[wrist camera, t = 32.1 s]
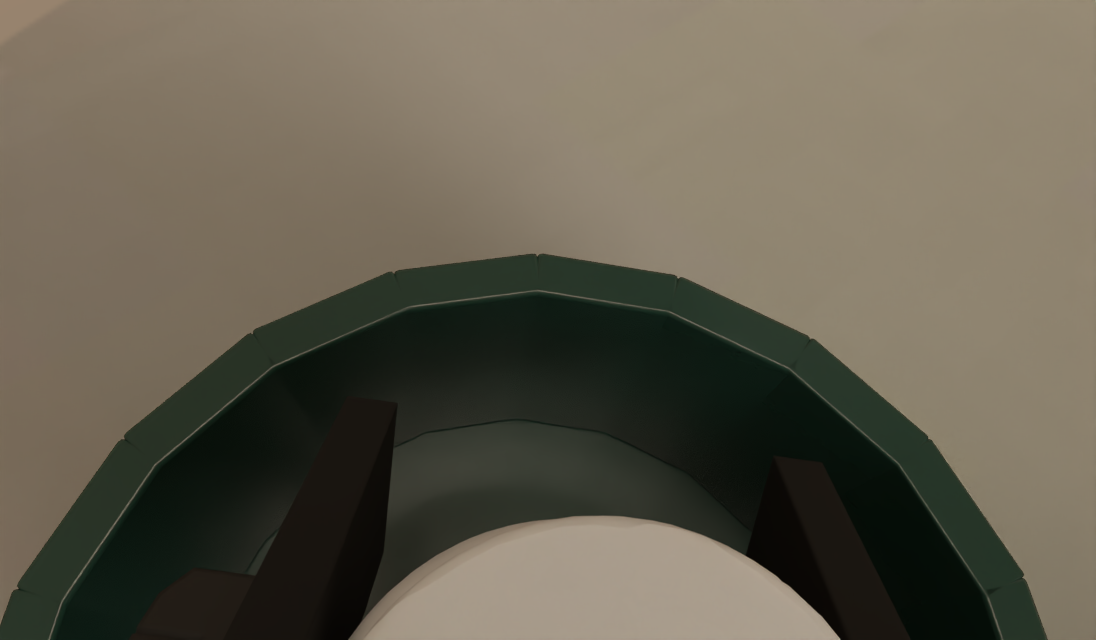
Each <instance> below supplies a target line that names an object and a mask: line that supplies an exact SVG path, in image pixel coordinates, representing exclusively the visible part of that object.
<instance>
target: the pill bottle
mask: <svg viewBox="0 0 1096 640" xmlns="http://www.w3.org/2000/svg"><path fill="white" fill-rule="evenodd" d="M348 640H841V639H840V638H839V637H838V636H837V634H836V633H835V632H834V631H833V630H832V628H831V627H830V626H829V625H828V623H827V622H826V621H825V620H824V619H823V617H822V616H821V615H819V614H818V613H817V612H816V611H815V610H814V609H813V608H812V607H811V606H810V605H809V604H808V603H807V602H806V601H805V600H803V599H802V598H801V597H800V596H799V595H798V594H797V593H796V592H795V591H794V590H793V589H792V588H791V587H790V586H789V585H787V584H785V583H783V582H782V581H781V580H780V579H779V578H778V577H777V576H776V575H774V574H773V573H771V572H770V571H768V570H767V569H765V568H764V567H762V566H761V565H759V564H758V563H756V562H755V561H753V560H752V559H750V558H748V557H746V556H745V555H743V554H741V553H739V552H737V551H736V550H734V549H732V548H730V547H729V546H727V545H724V544H722V543H720V542H717V541H715V540H713V539H710V538H708V537H706V536H703V535H701V534H698V533H695V532H692V531H689V530H686V529H683V528H680V527H677V526H674V525H671V524H666V523H662V522H657V521H652V520H645V519H638V518H630V517H623V516H572V517H566V518H560V519H550V520H539V521H530V522H525V523H519V524H514V525H509V526H506V527H502V528H499V529H495V530H491V531H488V532H485V533H482V534H480V535H477V536H474V537H472V538H469V539H467V540H465V541H463V542H461V543H459V544H457V545H455V546H453V547H451V548H449V549H447V550H445V551H444V552H442V553H440V554H438V555H436V556H435V557H433V558H432V559H430V560H429V561H427V562H426V563H424V564H423V565H421V566H420V567H419V568H417V569H416V570H414V571H413V572H412V573H410V574H409V575H408V576H407V577H406V578H404V579H403V580H402V581H401V582H400V583H399V584H397V585H396V586H395V587H394V588H393V589H391V590H390V591H389V592H388V593H387V594H386V595H385V596H384V597H383V598H382V599H381V600H380V601H379V602H378V603H377V604H376V606H375V607H374V608H373V609H372V610H371V611H370V612H369V614H368V615H367V616H366V617H365V618H364V619H363V621H362V622H361V623H360V625H359V626H358V627H357V629H356V630H355V631H354V633H353V634H352V635H351V637H350V638H349V639H348Z"/></svg>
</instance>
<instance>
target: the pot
mask: <svg viewBox="0 0 1096 640" xmlns="http://www.w3.org/2000/svg"><path fill="white" fill-rule="evenodd" d="M347 396H353V397H360V398H367V399H374V400H381V401H388V402H396V403H398V404H397V415H396V426H395V437H394V447H393V458H392V469H391V480H390V490H389V501H388V512H387V523H386V534H385V544H384V553H383V556H382V559H381V562H380V565H379V569H378V572H377V575H376V578H375V581H374V585H373V588H372V591H371V594H370V597H369V601H368V604H367V607H366V610H365V613H364V616H363V619H364V618H365V617H366V616H367V615H368V614H369V612H370V611H371V610H372V609H373V608H374V607H375V606H376V604H377V603H378V602H379V601H380V600H381V599H382V598H383V597H384V596H385V595H386V594H387V593H388V592H389V591H390V590H391V589H393V588H394V587H395V586H396V585H397V584H399V583H400V582H401V581H402V580H403V579H404V578H406V577H407V576H408V575H409V574H410V573H412V572H413V571H414V570H416V569H417V568H419V567H420V566H421V565H423V564H424V563H426V562H427V561H429V560H430V559H432V558H433V557H435V556H436V555H438V554H440V553H442V552H444V551H445V550H447V549H449V548H451V547H453V546H455V545H457V544H459V543H461V542H463V541H465V540H467V539H469V538H472V537H474V536H477V535H480V534H482V533H485V532H488V531H491V530H495V529H499V528H502V527H506V526H509V525H514V524H519V523H525V522H530V521H539V520H550V519H560V518H566V517H572V516H623V517H630V518H638V519H645V520H652V521H657V522H662V523H666V524H671V525H674V526H677V527H680V528H683V529H686V530H689V531H692V532H695V533H698V534H701V535H703V536H706V537H708V538H710V539H713V540H715V541H717V542H720V543H722V544H724V545H727V546H729V547H730V548H732V549H734V550H736V551H737V552H739V553H741V554H743V555H745V556H746V552H747V549H748V545H749V542H750V538H751V534H752V531H753V527H754V524H755V520H756V516H757V513H758V509H759V506H760V502H761V498H762V495H763V491H764V488H765V484H766V480H767V477H768V473H769V470H770V466H771V462H772V459H773V456H780V457H787V458H794V459H801V460H808V461H815V462H822V463H823V465H824V467H825V469H826V471H827V473H828V475H829V477H830V479H831V481H832V483H833V485H834V487H835V489H836V491H837V493H838V495H839V497H840V499H841V501H842V503H843V505H844V507H845V509H846V511H847V513H848V515H849V517H850V519H851V521H852V523H853V525H854V527H855V529H856V531H857V533H858V535H859V537H860V539H861V541H862V543H863V545H864V547H865V549H866V551H867V553H868V555H869V557H870V559H871V561H872V563H873V565H874V567H875V569H876V571H877V573H878V575H879V577H880V579H881V581H882V583H883V585H884V587H885V589H886V591H887V593H888V595H889V597H890V599H891V601H892V603H893V605H894V607H895V609H896V611H897V613H898V615H899V617H900V619H901V621H902V623H903V625H904V627H905V629H906V631H907V633H908V635H909V637H910V639H911V640H1048V639H1047V637H1046V634H1045V631H1044V628H1043V626H1042V623H1041V620H1040V617H1039V615H1038V612H1037V609H1036V606H1035V604H1034V601H1033V598H1032V595H1031V593H1030V590H1029V587H1028V584H1027V582H1026V580H1025V579H1024V578H1022V577H1023V576H1024V574H1023V572H1022V570H1021V569H1020V567H1019V566H1018V565H1017V563H1016V562H1015V560H1014V559H1013V557H1012V556H1011V554H1010V553H1009V552H1008V550H1007V549H1006V547H1005V546H1004V544H1003V543H1002V541H1001V540H1000V538H999V537H998V536H997V534H996V533H995V531H994V530H993V528H992V527H991V525H990V524H989V523H988V521H987V520H986V518H985V517H984V515H983V514H982V512H981V511H980V509H979V508H978V507H977V505H976V504H975V502H974V501H973V499H972V498H971V496H970V495H969V494H968V492H967V491H966V489H965V488H964V486H963V485H962V483H961V482H960V480H959V479H958V478H957V476H956V475H955V473H954V472H953V470H952V469H951V467H950V466H949V464H948V463H947V462H946V460H945V459H944V457H943V456H942V454H941V453H940V451H939V450H938V449H937V447H936V446H935V444H934V443H933V441H932V440H931V439H928V436H927V435H926V434H925V433H924V432H923V431H921V430H920V429H919V428H918V427H917V426H916V425H914V424H913V423H912V422H911V421H910V420H908V419H907V418H906V417H905V416H904V415H903V414H901V413H900V412H899V411H898V410H897V409H896V408H894V407H893V406H892V405H891V404H890V403H889V402H887V401H886V400H885V399H884V398H883V397H882V396H880V395H879V394H878V393H877V392H876V391H875V390H873V389H872V388H871V387H870V386H869V385H868V384H866V383H865V382H864V381H863V380H862V379H860V378H859V377H858V376H857V375H856V374H855V373H853V372H852V371H851V370H850V369H849V368H848V367H846V366H845V365H844V364H843V363H842V362H841V361H839V360H838V359H837V358H836V357H835V356H834V355H832V354H831V353H830V352H829V351H828V350H827V349H825V348H824V347H823V346H822V345H821V344H820V343H818V342H817V341H816V340H815V339H810V337H808V336H807V335H805V334H803V333H801V332H799V331H796V330H794V329H792V328H790V327H788V326H786V325H784V324H781V323H779V322H777V321H775V320H773V319H771V318H769V317H767V316H764V315H762V314H760V313H758V312H756V311H754V310H752V309H749V308H747V307H745V306H743V305H741V304H739V303H737V302H734V301H732V300H730V299H728V298H726V297H724V296H722V295H720V294H717V293H715V292H713V291H711V290H709V289H707V288H705V287H702V286H700V285H698V284H696V283H694V282H692V281H690V280H687V279H685V278H683V277H680V278H679V279H678V278H677V276H675V275H671V274H665V273H659V272H653V271H646V270H640V269H634V268H628V267H622V266H615V265H609V264H603V263H597V262H591V261H585V260H578V259H572V258H566V257H560V256H554V255H547V254H539V255H538V257H537V256H536V254H526V255H518V256H510V257H502V258H494V259H486V260H477V261H469V262H461V263H453V264H445V265H437V266H429V267H420V268H412V269H404V270H398V271H396V272H395V274H394V273H393V272H388V273H386V274H383V275H381V276H379V277H376V278H374V279H372V280H369V281H367V282H365V283H362V284H360V285H357V286H355V287H353V288H350V289H348V290H346V291H343V292H341V293H339V294H336V295H334V296H332V297H329V298H327V299H325V300H322V301H320V302H318V303H315V304H313V305H311V306H308V307H306V308H304V309H301V310H299V311H297V312H294V313H292V314H290V315H287V316H285V317H283V318H280V319H278V320H276V321H273V322H271V323H269V324H266V325H264V326H261V327H259V328H257V329H255V330H254V331H253V334H251V333H250V334H247V335H246V336H245V337H244V338H242V339H241V340H240V341H239V342H238V343H236V344H235V345H234V346H233V347H231V348H230V349H229V350H228V351H226V352H225V353H224V354H223V355H221V356H220V357H219V358H218V359H217V360H215V361H214V362H213V363H212V364H210V365H209V366H208V367H207V368H205V369H204V370H203V371H202V372H201V373H199V374H198V375H197V376H196V377H194V378H193V379H192V380H191V381H189V382H188V383H187V384H186V385H184V386H183V387H182V388H181V389H180V390H178V391H177V392H176V393H175V394H173V395H172V396H171V397H170V398H168V399H167V400H166V401H165V402H163V403H162V404H161V405H160V406H159V407H157V408H156V409H155V410H154V411H152V412H151V413H150V414H149V415H147V416H146V417H145V418H144V419H143V420H141V421H140V422H139V423H138V424H136V425H135V426H134V427H133V428H131V429H130V430H129V431H128V432H126V434H125V435H124V438H125V439H121V440H120V441H119V442H118V443H117V444H116V445H115V447H114V448H113V450H112V451H111V452H110V454H109V455H108V457H107V458H106V459H105V461H104V462H103V464H102V465H101V467H100V468H99V469H98V471H97V472H96V474H95V475H94V476H93V478H92V479H91V481H90V482H89V483H88V485H87V486H86V488H85V489H84V490H83V492H82V493H81V495H80V496H79V498H78V499H77V500H76V502H75V503H74V505H73V506H72V507H71V509H70V510H69V512H68V513H67V514H66V516H65V517H64V519H63V520H62V521H61V523H60V524H59V526H58V527H57V529H56V530H55V531H54V533H53V534H52V536H51V537H50V538H49V540H48V541H47V543H46V544H45V545H44V547H43V548H42V550H41V551H40V553H39V554H38V555H37V557H36V558H35V560H34V561H33V562H32V564H31V565H30V567H29V568H28V569H27V571H26V572H25V574H24V575H23V576H22V578H21V579H20V581H19V582H18V585H17V587H18V588H19V589H16V590H14V591H13V592H12V594H11V597H10V600H9V602H8V605H7V608H6V611H5V614H4V616H3V619H2V622H1V625H0V640H129V638H130V636H131V635H132V634H135V632H136V629H137V626H138V624H139V623H140V621H141V619H142V618H143V616H144V615H145V613H146V612H147V610H148V609H149V607H150V606H151V604H152V603H153V601H154V599H155V598H156V596H157V595H158V593H160V592H161V591H162V590H164V589H165V588H167V587H168V586H169V585H171V584H172V583H173V582H175V581H176V580H178V579H179V578H180V577H182V576H183V575H184V574H186V573H187V572H188V571H190V570H191V569H193V568H194V567H195V568H203V569H210V570H218V571H225V572H233V573H240V574H248V575H255V576H256V574H257V572H258V570H259V568H260V566H261V564H262V562H263V560H264V558H265V556H266V554H267V552H268V550H269V548H270V546H271V545H272V543H273V541H274V539H275V537H276V535H277V533H278V531H279V529H280V527H281V525H282V523H283V521H284V519H285V517H286V515H287V513H288V511H289V509H290V507H291V505H292V503H293V501H294V499H295V497H296V495H297V493H298V492H299V490H300V488H301V486H302V484H303V482H304V480H305V478H306V476H307V474H308V472H309V470H310V468H311V466H312V464H313V462H314V460H315V458H316V456H317V454H318V452H319V450H320V448H321V446H322V444H323V442H324V441H325V439H326V437H327V435H328V433H329V431H330V429H331V427H332V425H333V423H334V421H335V419H336V417H337V415H338V413H339V411H340V409H341V407H342V405H343V403H344V401H345V399H346V397H347ZM362 621H363V620H362Z"/></svg>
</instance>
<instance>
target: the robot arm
mask: <svg viewBox="0 0 1096 640" xmlns="http://www.w3.org/2000/svg"><path fill="white" fill-rule="evenodd" d="M397 404H398V403H396V402H388V401H381V400H374V399H367V398H360V397H353V396H347V397H346V399H345V401H344V403H343V405H342V407H341V409H340V411H339V413H338V415H337V417H336V419H335V421H334V423H333V425H332V427H331V429H330V431H329V433H328V435H327V437H326V439H325V441H324V442H323V444H322V446H321V448H320V450H319V452H318V454H317V456H316V458H315V460H314V462H313V464H312V466H311V468H310V470H309V472H308V474H307V476H306V478H305V480H304V482H303V484H302V486H301V488H300V490H299V492H298V493H297V495H296V497H295V499H294V501H293V503H292V505H291V507H290V509H289V511H288V513H287V515H286V517H285V519H284V521H283V523H282V525H281V527H280V529H279V531H278V533H277V535H276V537H275V539H274V541H273V543H272V545H271V546H270V548H269V550H268V552H267V554H266V556H265V558H264V560H263V562H262V564H261V566H260V568H259V570H258V572H257V574H256V576H255V575H248V574H240V573H233V572H225V571H218V570H210V569H203V568H195V567H194V568H193V569H191V570H190V571H188V572H187V573H186V574H184V575H183V576H182V577H180V578H179V579H178V580H176V581H175V582H173V583H172V584H171V585H169V586H168V587H167V588H165V589H164V590H162V591H161V592H160V593H158V595H157V596H156V598H155V599H154V601H153V603H152V604H151V606H150V607H149V609H148V610H147V612H146V613H145V615H144V616H143V618H142V619H141V621H140V623H139V624H138V626H137V629H136V632H135V634H132V635H131V636H130V638H129V640H348V639H349V638H350V637H351V635H352V634H353V633H354V631H355V630H356V629H357V627H358V626H359V625H360V623H361V622H362V620H363V616H364V613H365V610H366V607H367V604H368V601H369V597H370V594H371V591H372V588H373V585H374V581H375V578H376V575H377V572H378V569H379V565H380V562H381V559H382V556H383V553H384V544H385V534H386V523H387V512H388V501H389V490H390V480H391V469H392V458H393V447H394V437H395V426H396V415H397ZM746 557H748V558H750V559H752V560H753V561H755V562H756V563H758V564H759V565H761V566H762V567H764V568H765V569H767V570H768V571H770V572H771V573H773V574H774V575H776V576H777V577H778V578H779V579H780V580H781V581H782V582H783V583H785V584H787V585H789V586H790V587H791V588H792V589H793V590H794V591H795V592H796V593H797V594H798V595H799V596H800V597H801V598H802V599H803V600H805V601H806V602H807V603H808V604H809V605H810V606H811V607H812V608H813V609H814V610H815V611H816V612H817V613H818V614H819V615H821V616H822V617H823V619H824V620H825V621H826V622H827V623H828V625H829V626H830V627H831V628H832V630H833V631H834V632H835V633H836V634H837V636H838V637H839V638H840V639H841V640H911V639H910V637H909V635H908V633H907V631H906V629H905V627H904V625H903V623H902V621H901V619H900V617H899V615H898V613H897V611H896V609H895V607H894V605H893V603H892V601H891V599H890V597H889V595H888V593H887V591H886V589H885V587H884V585H883V583H882V581H881V579H880V577H879V575H878V573H877V571H876V569H875V567H874V565H873V563H872V561H871V559H870V557H869V555H868V553H867V551H866V549H865V547H864V545H863V543H862V541H861V539H860V537H859V535H858V533H857V531H856V529H855V527H854V525H853V523H852V521H851V519H850V517H849V515H848V513H847V511H846V509H845V507H844V505H843V503H842V501H841V499H840V497H839V495H838V493H837V491H836V489H835V487H834V485H833V483H832V481H831V479H830V477H829V475H828V473H827V471H826V469H825V467H824V465H823V463H822V462H815V461H808V460H801V459H794V458H787V457H780V456H773V459H772V462H771V466H770V470H769V473H768V477H767V480H766V484H765V488H764V491H763V495H762V498H761V502H760V506H759V509H758V513H757V516H756V520H755V524H754V527H753V531H752V534H751V538H750V542H749V545H748V549H747V552H746Z"/></svg>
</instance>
